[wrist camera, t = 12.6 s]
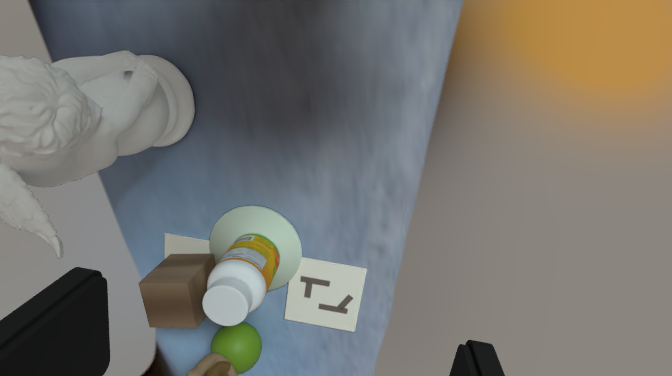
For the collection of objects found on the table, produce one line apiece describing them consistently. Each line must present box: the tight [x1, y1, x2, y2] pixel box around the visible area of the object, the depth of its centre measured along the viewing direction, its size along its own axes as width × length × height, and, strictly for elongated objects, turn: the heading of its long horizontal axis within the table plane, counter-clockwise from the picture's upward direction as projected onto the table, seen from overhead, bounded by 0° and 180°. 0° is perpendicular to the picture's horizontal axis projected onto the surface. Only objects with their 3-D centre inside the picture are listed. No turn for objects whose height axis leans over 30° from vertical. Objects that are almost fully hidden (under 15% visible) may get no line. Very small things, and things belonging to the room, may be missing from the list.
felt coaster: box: [209, 205, 302, 291], centre depth 44 cm, size 10×10×1 cm
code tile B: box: [165, 233, 210, 259], centre depth 46 cm, size 8×8×1 cm
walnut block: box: [139, 254, 216, 328], centre depth 43 cm, size 5×5×6 cm
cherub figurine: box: [0, 50, 195, 259], centre depth 30 cm, size 12×12×22 cm
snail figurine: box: [186, 322, 262, 376], centre depth 42 cm, size 5×6×12 cm
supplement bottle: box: [202, 232, 281, 326], centre depth 39 cm, size 5×5×10 cm
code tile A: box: [284, 257, 367, 332], centre depth 45 cm, size 8×8×1 cm
